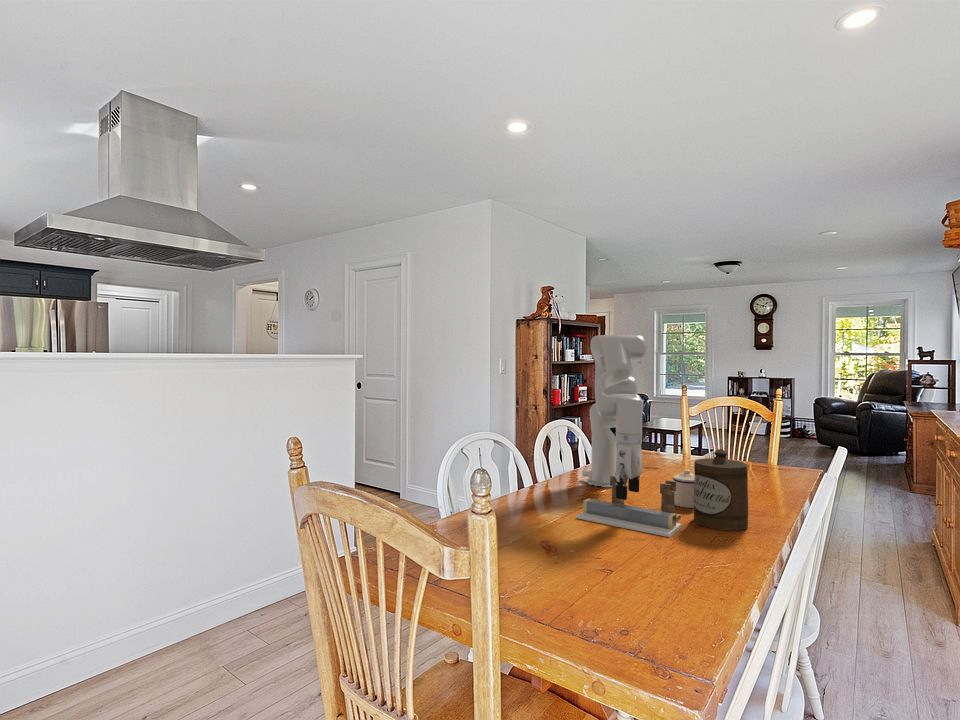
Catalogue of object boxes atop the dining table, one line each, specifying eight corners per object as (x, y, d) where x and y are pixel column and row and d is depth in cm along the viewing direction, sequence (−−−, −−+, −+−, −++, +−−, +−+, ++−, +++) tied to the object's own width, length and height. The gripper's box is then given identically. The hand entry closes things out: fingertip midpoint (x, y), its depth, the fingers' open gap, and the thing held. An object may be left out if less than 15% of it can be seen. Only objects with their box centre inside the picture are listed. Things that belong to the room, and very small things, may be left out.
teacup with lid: (699, 510, 175) (699, 474, 175) (670, 506, 179) (670, 471, 179) (703, 501, 185) (704, 467, 185) (676, 498, 190) (676, 464, 190)
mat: (576, 518, 164) (576, 515, 164) (592, 510, 173) (592, 507, 173) (669, 537, 148) (669, 533, 148) (681, 527, 157) (681, 523, 157)
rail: (583, 512, 167) (583, 500, 167) (588, 509, 170) (588, 498, 170) (672, 529, 151) (672, 517, 151) (676, 526, 154) (676, 514, 154)
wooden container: (682, 519, 165) (683, 447, 165) (717, 513, 171) (718, 444, 171) (723, 533, 151) (724, 455, 151) (759, 527, 158) (760, 452, 157)
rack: (605, 509, 174) (605, 475, 174) (612, 505, 179) (613, 472, 179) (674, 522, 161) (675, 485, 161) (680, 517, 166) (681, 482, 166)
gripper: (630, 444, 151) (629, 504, 152) (651, 435, 165) (650, 491, 166) (605, 441, 156) (604, 499, 157) (627, 433, 170) (626, 486, 170)
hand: (627, 495), depth 161 cm, fingers open, 9 cm apart
